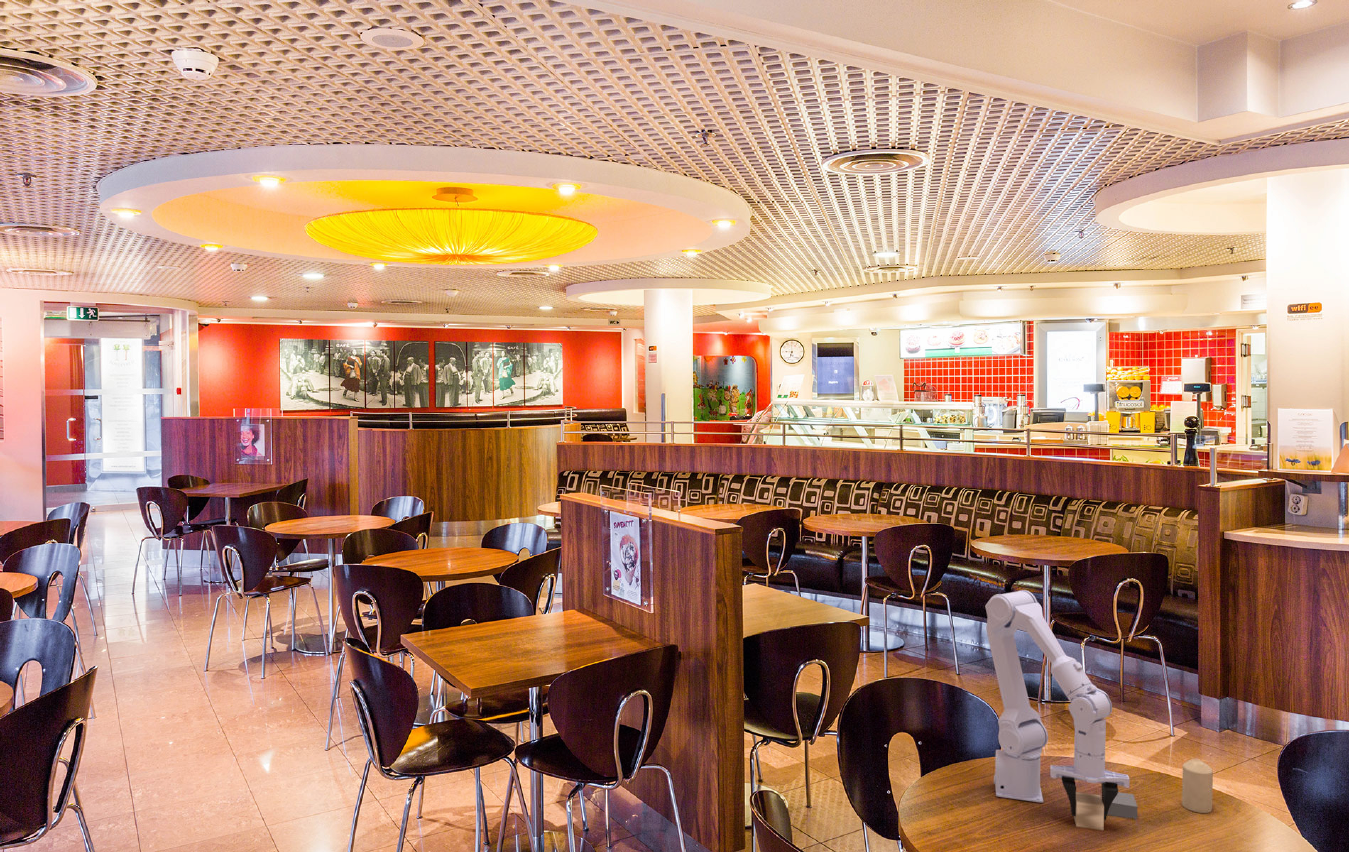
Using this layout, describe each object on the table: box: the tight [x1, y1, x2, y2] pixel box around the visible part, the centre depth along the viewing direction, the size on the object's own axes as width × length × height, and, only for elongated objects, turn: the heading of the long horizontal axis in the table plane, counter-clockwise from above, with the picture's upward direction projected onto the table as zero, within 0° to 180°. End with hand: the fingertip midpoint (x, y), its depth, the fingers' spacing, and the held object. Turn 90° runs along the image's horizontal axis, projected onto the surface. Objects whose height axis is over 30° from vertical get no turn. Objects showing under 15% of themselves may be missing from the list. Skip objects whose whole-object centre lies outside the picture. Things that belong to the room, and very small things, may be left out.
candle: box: [1181, 758, 1214, 814], centre depth 185 cm, size 6×6×10 cm
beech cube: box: [1073, 791, 1105, 831], centre depth 178 cm, size 5×5×5 cm
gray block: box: [1107, 791, 1138, 820], centre depth 184 cm, size 6×6×3 cm
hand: (1088, 815), depth 178 cm, fingers closed on beech cube, 5 cm apart
